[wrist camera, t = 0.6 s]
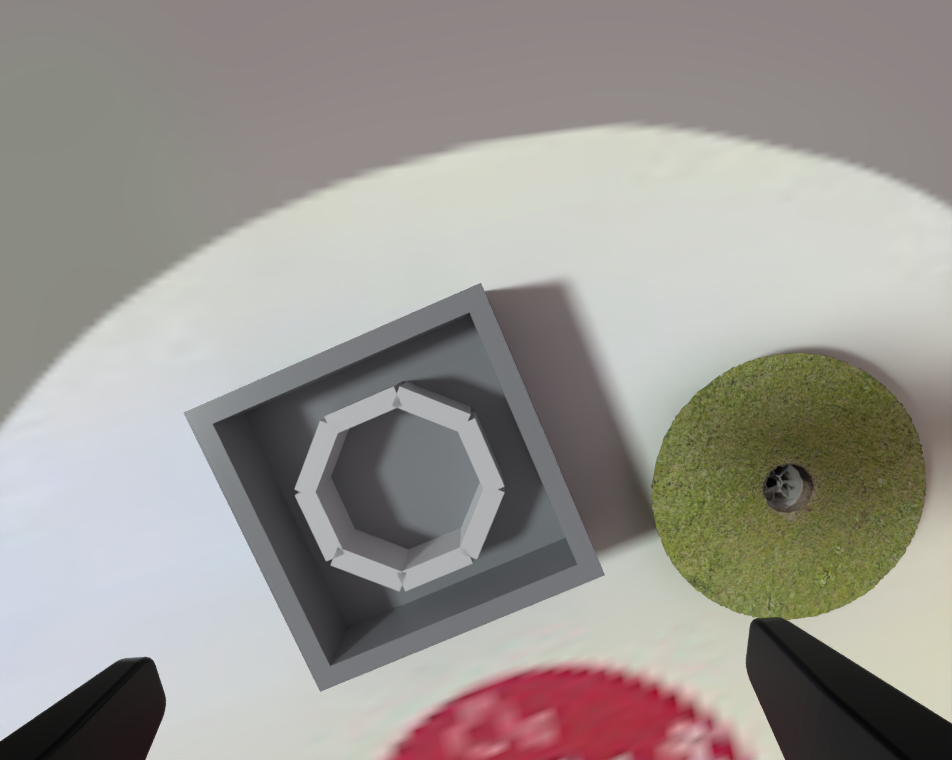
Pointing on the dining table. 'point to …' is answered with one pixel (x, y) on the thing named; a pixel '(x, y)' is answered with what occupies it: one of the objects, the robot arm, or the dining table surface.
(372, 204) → the dining table surface
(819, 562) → the olive green flat disc
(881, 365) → the dining table surface
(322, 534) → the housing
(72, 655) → the dining table surface
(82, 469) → the dining table surface
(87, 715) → the robot arm
